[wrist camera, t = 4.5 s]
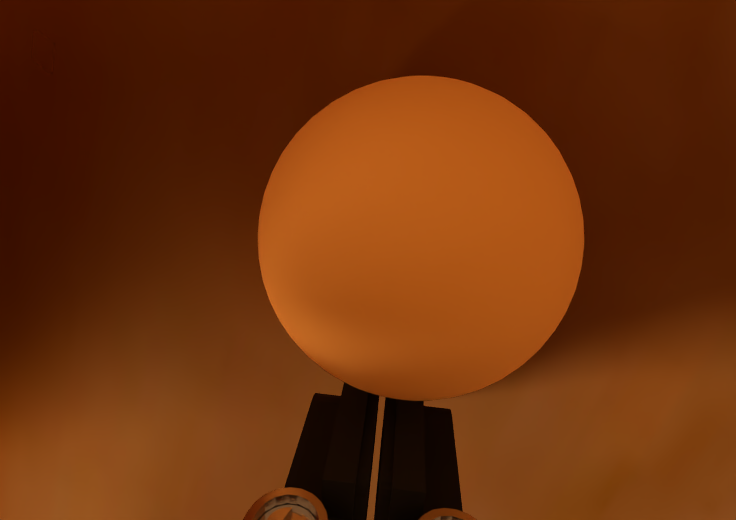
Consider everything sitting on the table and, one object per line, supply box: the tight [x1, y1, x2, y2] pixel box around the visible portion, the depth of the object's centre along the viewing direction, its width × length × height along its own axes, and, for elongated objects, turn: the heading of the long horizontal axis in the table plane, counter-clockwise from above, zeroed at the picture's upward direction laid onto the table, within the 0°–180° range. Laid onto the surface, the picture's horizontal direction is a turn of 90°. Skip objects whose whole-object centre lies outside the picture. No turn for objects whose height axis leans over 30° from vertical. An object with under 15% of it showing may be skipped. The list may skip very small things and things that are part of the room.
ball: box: [258, 76, 584, 401], centre depth 8 cm, size 6×6×6 cm
